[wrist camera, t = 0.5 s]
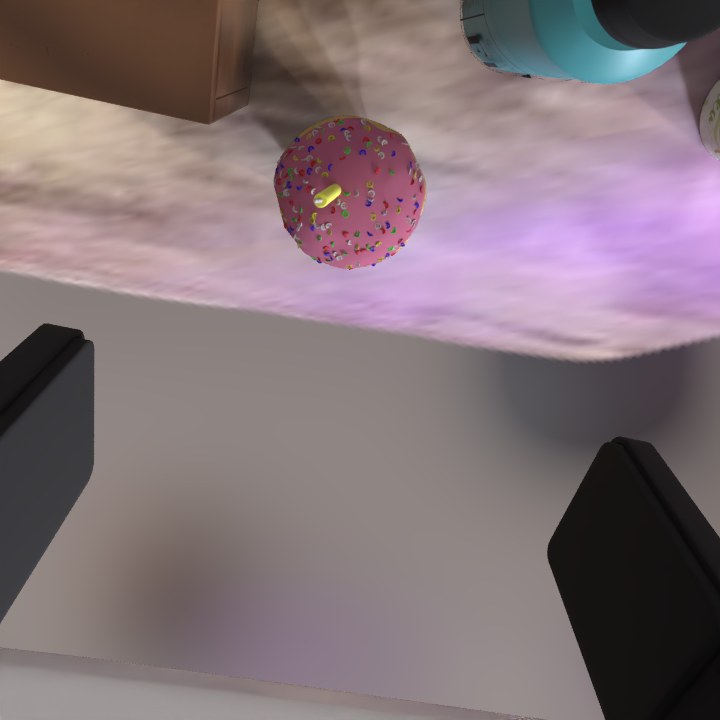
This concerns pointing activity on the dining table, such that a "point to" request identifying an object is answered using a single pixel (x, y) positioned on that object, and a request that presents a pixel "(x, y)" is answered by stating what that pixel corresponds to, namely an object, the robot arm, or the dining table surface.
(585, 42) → the beverage bottle
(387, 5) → the dining table surface
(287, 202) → the cupcake
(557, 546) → the robot arm
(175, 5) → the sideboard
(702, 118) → the mug
